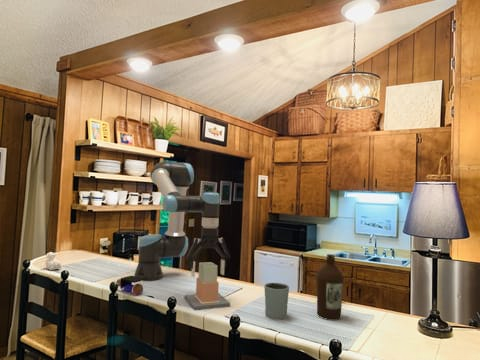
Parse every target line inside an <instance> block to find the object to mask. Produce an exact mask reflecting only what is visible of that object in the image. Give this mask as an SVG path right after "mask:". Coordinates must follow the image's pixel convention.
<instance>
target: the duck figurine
mask: <svg viewBox="0 0 480 360" xmlns="http://www.w3.org/2000/svg"><path fill="white" fill-rule="evenodd" d="M45 255H46V258H47V259H46V261H45V267H46V269H47V270H48V269H49V271H54V270H55V269H60V270H61V268H62V264H61V261H59V260H58V259H57V258H56V257H57V254H56V253H54V252H52V251H49V252H48V253H46V254H45ZM55 271H56V270H55Z"/></svg>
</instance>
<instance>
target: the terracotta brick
mask: <svg viewBox="0 0 480 360" xmlns="http://www.w3.org/2000/svg"><path fill="white" fill-rule="evenodd" d="M219 284H220V282H219V281H217V282H211V283H203V282H202V281H201V280H200V279H199V278H198V277H196V286H195V287H196V288H195V294H196V296H197V297H198V298H199V300H200V301H201V302H202V303H204V302H215V301H218V293H219Z"/></svg>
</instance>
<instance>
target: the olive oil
mask: <svg viewBox="0 0 480 360" xmlns="http://www.w3.org/2000/svg"><path fill="white" fill-rule="evenodd" d="M335 256H336V255H335V254H332V253H328V254H326V263H325V264H324V265H323V266H322V267H321V268H320V269H319V270H318V272H317V274H316V297H317V298H316V299H317V301H316V314H318V315H319V316H321V317H323V318H322V319H324V318H327V319H326V320H328V319H337V320H340V319H341V318H342V306H343V305H342V301H343V298H342V293H343V290H344V274H343V272H341V270H340V269H339V268H338V267H337V266H336V264H335V263H336V258H335ZM318 315H317V316H318ZM319 316H318V317H319ZM321 317H320V318H321ZM340 317H341V318H340ZM339 318H340V319H339Z"/></svg>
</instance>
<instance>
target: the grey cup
mask: <svg viewBox="0 0 480 360" xmlns="http://www.w3.org/2000/svg"><path fill="white" fill-rule="evenodd" d="M289 294H290V286H289V285H288V284H285V283H282V282H280V283H279V282H267V283H265V284H264V303H265V310H264V312H265V317H267V318H268V317H269V319H271V318H274V319H273V320H284V319H286V318H287V315H288V302H289ZM285 317H286V318H285ZM283 318H284V319H283Z"/></svg>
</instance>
